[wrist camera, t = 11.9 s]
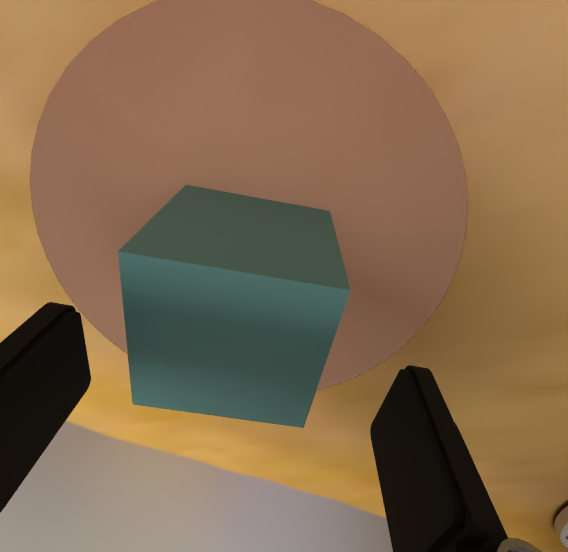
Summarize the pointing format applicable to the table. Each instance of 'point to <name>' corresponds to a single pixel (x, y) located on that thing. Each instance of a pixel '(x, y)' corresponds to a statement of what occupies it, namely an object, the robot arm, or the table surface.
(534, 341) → the table surface
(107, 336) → the terracotta disc
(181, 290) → the teal block
